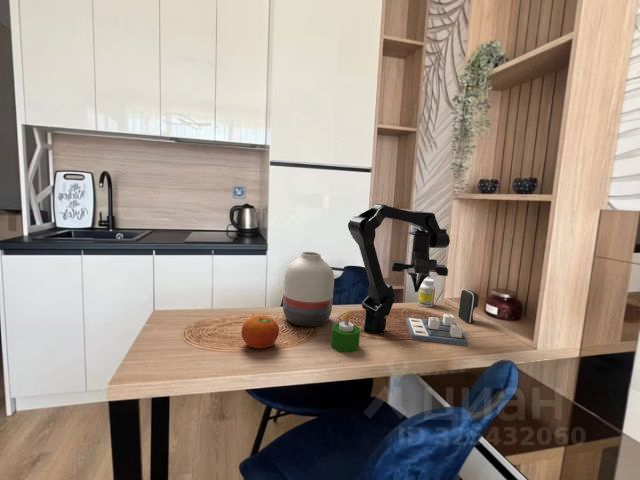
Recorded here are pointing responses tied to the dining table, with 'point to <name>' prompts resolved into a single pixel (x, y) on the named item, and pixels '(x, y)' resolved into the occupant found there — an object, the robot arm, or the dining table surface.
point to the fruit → (260, 332)
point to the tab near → (456, 331)
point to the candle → (345, 336)
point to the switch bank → (432, 332)
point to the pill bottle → (427, 293)
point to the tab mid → (433, 323)
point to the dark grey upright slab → (468, 305)
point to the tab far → (448, 319)
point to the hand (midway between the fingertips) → (416, 291)
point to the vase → (308, 290)
